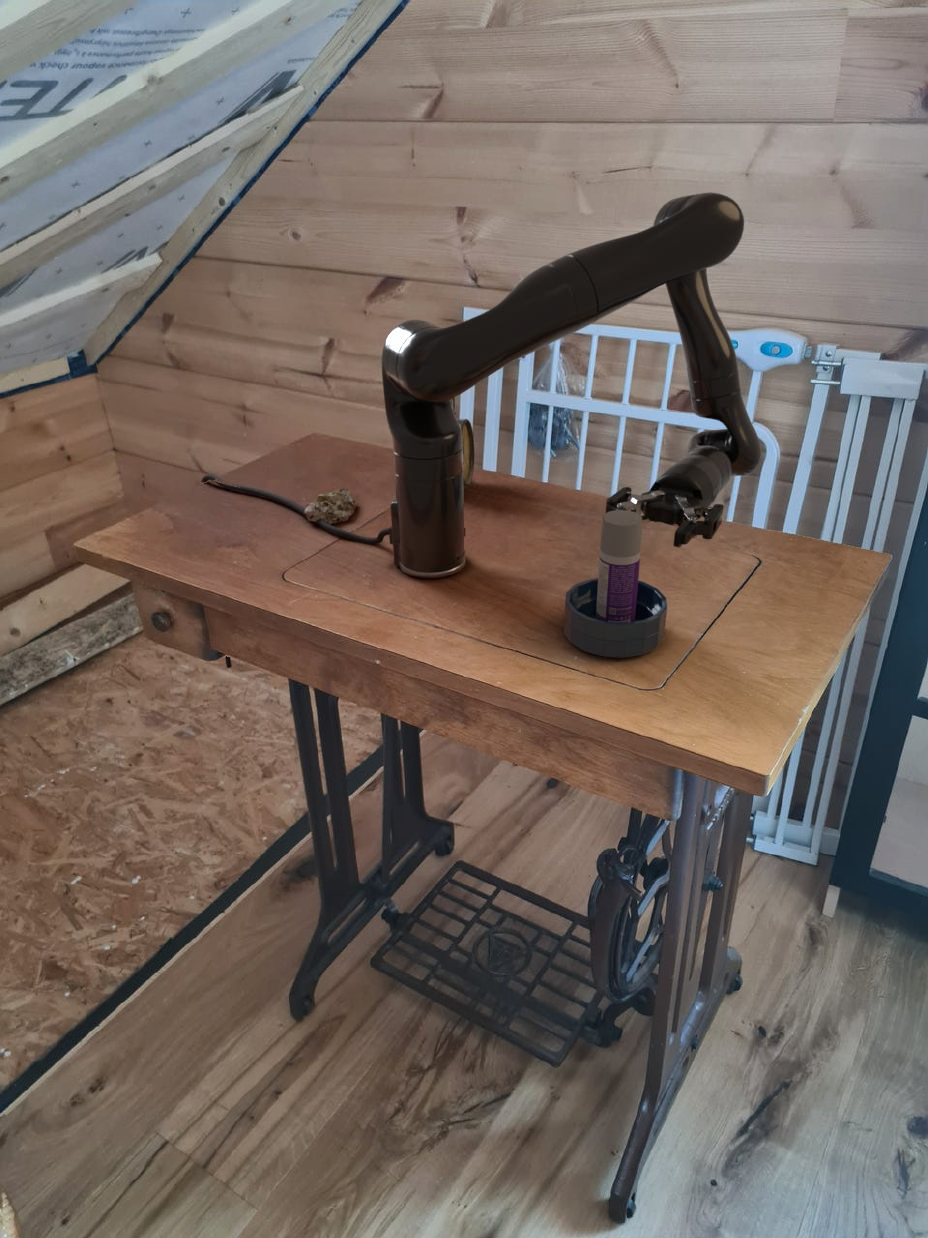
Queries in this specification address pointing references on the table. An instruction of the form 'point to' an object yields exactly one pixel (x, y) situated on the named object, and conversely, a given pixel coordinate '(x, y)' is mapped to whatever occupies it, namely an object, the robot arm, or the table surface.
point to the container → (619, 566)
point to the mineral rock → (331, 507)
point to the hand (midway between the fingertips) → (643, 533)
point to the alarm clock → (466, 448)
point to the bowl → (614, 635)
